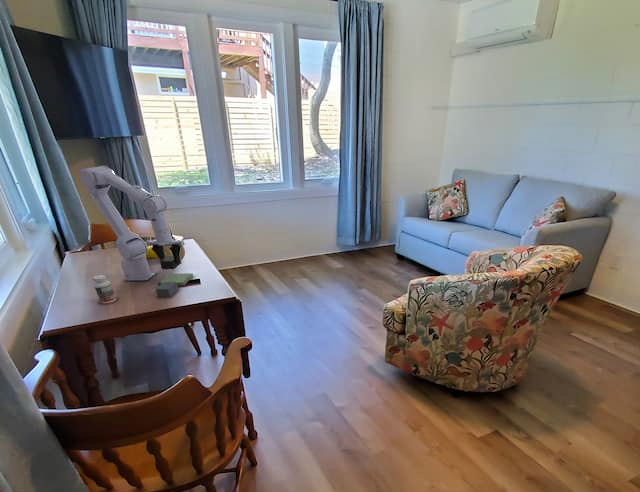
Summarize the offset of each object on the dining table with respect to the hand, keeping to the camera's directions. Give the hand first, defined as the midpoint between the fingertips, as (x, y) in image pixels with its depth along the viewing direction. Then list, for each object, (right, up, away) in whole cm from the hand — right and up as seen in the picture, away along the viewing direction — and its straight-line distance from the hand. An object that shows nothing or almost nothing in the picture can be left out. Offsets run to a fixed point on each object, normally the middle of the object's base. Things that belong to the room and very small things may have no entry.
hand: (170, 262), depth 162 cm
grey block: (+2, -13, -6) cm, 15 cm away
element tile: (-24, +13, +36) cm, 45 cm away
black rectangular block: (0, -1, +1) cm, 1 cm away
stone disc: (-10, +6, +26) cm, 28 cm away
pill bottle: (-18, -17, -11) cm, 28 cm away
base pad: (0, -7, +5) cm, 8 cm away
